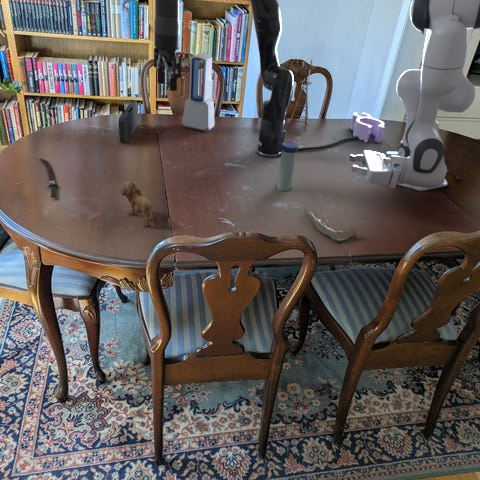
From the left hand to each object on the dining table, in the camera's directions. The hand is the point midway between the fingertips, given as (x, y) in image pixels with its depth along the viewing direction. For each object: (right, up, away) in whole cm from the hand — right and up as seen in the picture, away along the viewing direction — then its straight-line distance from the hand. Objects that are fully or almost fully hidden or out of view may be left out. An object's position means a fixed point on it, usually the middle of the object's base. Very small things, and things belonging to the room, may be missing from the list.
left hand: (166, 86), depth 148 cm
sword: (-39, -28, +4) cm, 49 cm away
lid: (+40, -18, +5) cm, 44 cm away
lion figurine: (-6, -42, -12) cm, 44 cm away
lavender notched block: (+81, 0, +68) cm, 106 cm away
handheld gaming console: (-22, -5, +42) cm, 48 cm away
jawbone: (+51, -44, -6) cm, 68 cm away
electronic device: (+5, 0, +55) cm, 55 cm away
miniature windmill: (+50, +4, +68) cm, 85 cm away
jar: (+38, -30, +14) cm, 51 cm away
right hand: (+59, -23, +5) cm, 64 cm away
